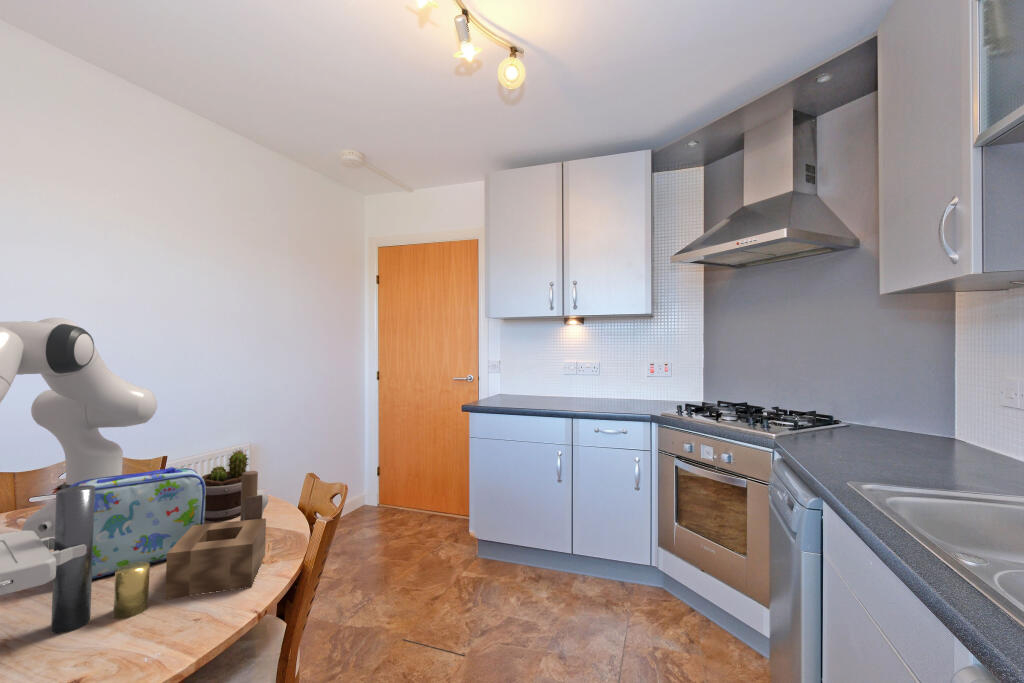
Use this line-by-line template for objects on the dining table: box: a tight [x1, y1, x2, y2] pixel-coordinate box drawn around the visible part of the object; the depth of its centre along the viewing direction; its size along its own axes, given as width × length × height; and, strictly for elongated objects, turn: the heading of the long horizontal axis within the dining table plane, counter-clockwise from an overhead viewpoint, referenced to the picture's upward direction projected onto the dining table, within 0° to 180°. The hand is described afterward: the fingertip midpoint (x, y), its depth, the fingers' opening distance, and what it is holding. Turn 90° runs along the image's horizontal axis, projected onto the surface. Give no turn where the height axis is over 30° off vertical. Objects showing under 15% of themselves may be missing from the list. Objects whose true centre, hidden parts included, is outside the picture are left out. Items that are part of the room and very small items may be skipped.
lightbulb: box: [257, 488, 269, 515], centre depth 123 cm, size 6×6×11 cm
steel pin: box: [50, 485, 95, 635], centre depth 80 cm, size 5×5×24 cm
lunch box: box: [70, 466, 206, 580], centre depth 104 cm, size 26×11×21 cm, turn 137°
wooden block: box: [239, 470, 263, 521], centre depth 112 cm, size 4×11×18 cm, turn 38°
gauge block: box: [164, 518, 267, 600], centre depth 98 cm, size 15×15×9 cm
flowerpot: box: [201, 447, 250, 522], centre depth 134 cm, size 14×15×20 cm
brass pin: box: [113, 562, 151, 619], centre depth 84 cm, size 5×5×8 cm
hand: (80, 543), depth 81 cm, fingers closed on steel pin, 5 cm apart
